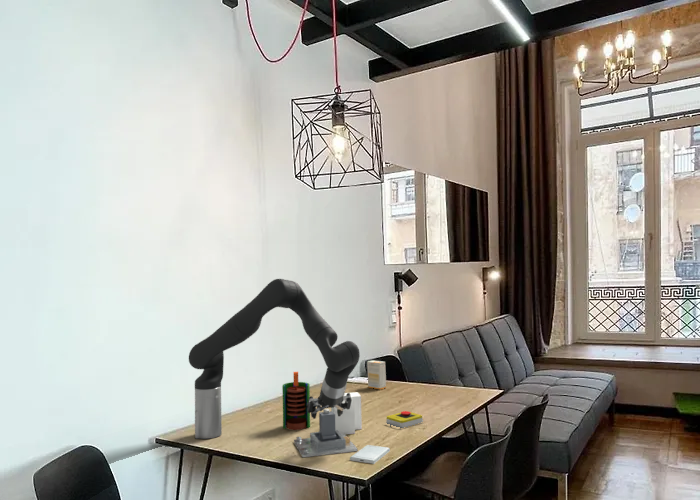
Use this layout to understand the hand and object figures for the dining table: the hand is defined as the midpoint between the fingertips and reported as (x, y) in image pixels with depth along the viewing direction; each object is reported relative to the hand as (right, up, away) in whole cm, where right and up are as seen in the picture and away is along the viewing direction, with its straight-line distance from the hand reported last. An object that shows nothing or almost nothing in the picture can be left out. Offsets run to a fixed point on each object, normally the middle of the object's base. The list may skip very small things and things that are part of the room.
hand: (326, 415), depth 180 cm
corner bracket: (+7, -11, +17) cm, 21 cm away
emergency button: (+28, -11, +23) cm, 38 cm away
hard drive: (+14, -10, -11) cm, 21 cm away
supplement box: (+21, -13, +84) cm, 88 cm away
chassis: (0, -10, -2) cm, 10 cm away
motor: (-12, -11, +22) cm, 27 cm away
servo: (+1, -9, -2) cm, 9 cm away
